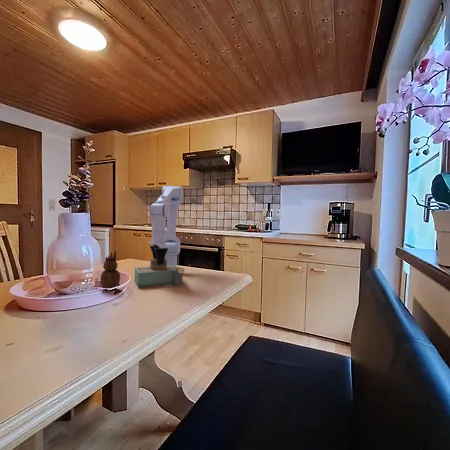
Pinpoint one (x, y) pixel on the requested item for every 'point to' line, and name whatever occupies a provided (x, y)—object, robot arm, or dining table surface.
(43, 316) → the dining table surface
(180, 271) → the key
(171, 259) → the robot arm
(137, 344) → the dining table surface
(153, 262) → the lid
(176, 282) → the green rectangular open box
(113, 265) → the wooden figurine
